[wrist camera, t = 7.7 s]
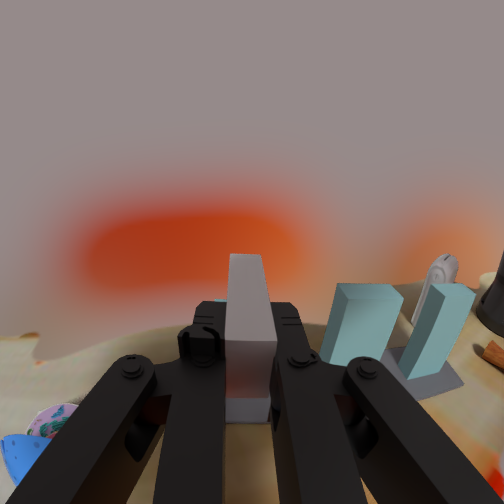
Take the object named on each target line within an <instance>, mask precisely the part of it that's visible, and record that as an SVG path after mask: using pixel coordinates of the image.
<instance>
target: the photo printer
mask: <svg viewBox="0 0 504 504" xmlns="http://www.w3.org/2000/svg"><path fill="white" fill-rule="evenodd" d="M457 271H458V261H457V259H456V258H455V257H454V256H451V255H450V254H443V255H441V256H439V257H438V258H437V259H436V260H435V261H434V262H433V263H432V265H431V266H430V268H429V270H428V273H427V276H426V279H425V282H424V285H423V289H422V292H421V295H420V297H419V300H418V303H417V306H416V308H415V311H414V314H413V316H412V319H411V323H412V325H413V326H414V327H415V325H416V323H417V320H418V318H419V315H420V313H421V310H422V307H423V305H424V302H425V299H426V296H427V293H428V290H429V288H430V284H452V283H454V280H455V277H456V274H457Z"/></svg>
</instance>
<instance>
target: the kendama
mask: <svg viewBox="0 0 504 504" xmlns="http://www.w3.org/2000/svg"><path fill="white" fill-rule="evenodd" d="M482 358H483V359H485V360H487V361H489V362H491V363H493V364H494V365H496V366H498V367H500V368H502V369H504V350H503V349H502V348H501V347H499V346H498V345H497V344H496V343H495V342H494V341H493V340H492V341H491V342H490V343H489V344H488V346H487V347H486V349H485V351H484V353H483V356H482Z"/></svg>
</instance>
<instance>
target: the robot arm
mask: <svg viewBox="0 0 504 504" xmlns="http://www.w3.org/2000/svg"><path fill="white" fill-rule="evenodd" d="M229 265H230V266H229V279H228V292H227V302H216V301H203V302H201V303H200V304H199V305H198V306H197V307H196V311H195V315H194V320H193V324H192V325H191V326H187V327H186V328H184V329H183V330H181V331H180V333H179V334H178V336H177V338H178V345H179V353H180V358H179V359H177V360H175V361H173V362H169V363H164V364H156V365H153V363H152V362H151V361H150V359H148V358H146V357H144V356H142V355H136V354H133V355H126V356H124V357H121V358H119V359H118V360H117V361H115V362H114V363H113V364H112V366H111V367H110V368H109V369H108V370H107V372H106V373H105V374H104V375H103V376H102V378H101V379H100V380H99V381H98V382H97V384H96V385H95V386H94V387H93V388H92V390H91V391H90V392H89V393H88V395H87V396H86V397H85V398H84V399H83V401H82V402H81V403H80V404H79V406H78V407H77V408H76V409H75V411H74V412H73V413H72V414H71V416H70V417H69V418H68V419H67V421H66V422H65V423H64V424H63V426H62V427H61V428H60V430H59V431H58V432H57V433H56V435H55V436H54V437H53V439H52V440H51V441H50V443H49V444H48V445H47V446H46V448H45V449H44V450H43V452H42V453H41V454H40V456H39V457H38V458H37V460H36V461H35V462H34V464H33V465H32V467H31V468H30V469H29V471H28V472H27V473H26V475H25V476H24V478H23V479H22V480H21V482H20V483H19V485H18V486H17V487H16V489H15V490H14V492H13V493H12V495H11V496H10V497H9V499H8V500H7V502H6V503H5V504H126V502H127V500H128V498H129V496H130V495H131V493H132V491H133V489H134V487H135V485H136V483H137V481H138V479H139V478H140V476H141V474H142V472H143V470H144V468H145V466H146V464H147V462H148V460H149V458H150V457H151V455H152V453H153V451H154V449H155V447H156V445H157V443H158V441H159V439H160V437H161V436H162V434H163V432H164V430H165V432H164V437H163V443H162V448H161V454H160V460H159V466H158V472H157V478H156V484H155V491H154V498H153V504H225V425H226V398H268V397H269V391H270V398H271V403H270V408H269V414H268V419H267V422H271V430H272V439H273V448H274V457H275V466H276V475H277V483H278V492H279V501H280V504H368V502H367V499H366V495H365V492H364V488H363V485H362V482H361V478H362V480H363V482H364V483H365V485H366V486H367V488H368V489H369V491H370V492H371V494H372V495H373V497H374V499H375V500H376V502H377V503H378V504H504V502H503V501H502V499H501V498H500V497H499V496H498V494H497V493H496V492H495V491H494V490H493V488H492V487H491V486H490V485H489V484H488V482H487V481H486V480H485V479H484V478H483V476H482V475H481V474H480V473H479V472H478V470H477V469H476V468H475V467H474V466H473V465H472V463H471V462H470V461H469V460H468V459H467V458H466V456H465V455H464V454H463V453H462V452H461V451H460V449H459V448H458V447H457V446H456V445H455V444H454V443H453V441H452V440H451V439H450V438H449V437H448V436H447V435H446V433H445V432H444V431H443V430H442V429H441V428H440V427H439V425H438V424H437V423H436V422H435V421H434V420H433V419H432V418H431V416H430V415H429V414H428V413H427V412H426V411H425V410H424V409H423V408H422V406H421V405H420V404H419V403H418V402H417V401H416V400H415V399H414V398H413V396H412V395H411V394H410V393H409V392H408V391H407V390H406V389H405V388H404V387H403V385H402V384H401V383H400V382H399V381H398V380H397V379H396V378H395V377H394V376H393V375H392V373H391V372H390V371H389V370H388V369H387V368H386V367H385V366H384V365H383V364H382V363H381V362H379V361H378V360H376V359H374V358H371V357H366V356H361V357H356V358H354V359H352V360H350V362H349V363H348V365H347V366H341V365H335V364H330V363H326V362H324V361H322V360H321V358H320V356H319V355H318V353H316V352H315V351H313V350H312V349H310V346H309V343H308V340H307V337H306V334H305V331H304V328H303V325H302V322H301V319H300V316H299V313H298V310H297V309H296V308H295V307H294V306H293V305H292V304H291V303H290V302H270V300H269V295H268V290H267V285H266V279H265V274H264V270H263V264H262V259H261V255H252V254H230V264H229ZM476 313H477V315H478V317H479V319H480V320H481V321H482V322H483V323H484V324H485V325H486V326H487V327H488V328H489V329H490V330H492V331H493V332H495V333H496V334H498V335H500V336H502V337H504V252H503V255H502V259H501V262H500V265H499V268H498V271H497V274H496V277H495V280H494V281H493V283H492V284H491V286H490V287H489V288H488V290H487V291H486V292H485V294H484V295H483V296H482V298H481V299H480V301H479V304H478V306H477V308H476ZM360 477H361V478H360Z"/></svg>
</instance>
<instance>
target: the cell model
mask: <svg viewBox="0 0 504 504" xmlns="http://www.w3.org/2000/svg"><path fill="white" fill-rule="evenodd" d="M78 406H79V405H76V404H70V403H61V404H56V405H53V406H51V407H48V408H46V409H44V410H42V411H41V410H39V411H38V414H37V416H36V417H35V418H34V419H33V420H32V422H31V423H30V424H29V426H28V428H27V429H26V431H25V434H24V435H22V434H15V435H8V436H5V437H4V438H3V439H4V441H3V440H0V449H1V453H2V457H3V460H4V463H5V466H6V469H7V471H8V473H9V475H10V477H11V479H12V481H13V483H14V484H15V486H16V487H17V486H18V485H19V483H20V482H21V480H22V479H23V478H24V476H25V475H26V473H27V472H28V471H29V469H30V468H31V467H32V465H33V464H34V462H35V461H36V460H37V458H38V457H39V456H40V454H41V453H42V452H43V450H44V449H45V448H46V446H47V445H48V444H49V443H50V441H51V440H52V439H53V437H54V436H55V435H56V433H57V432H58V431H59V430H60V428H61V427H62V426H63V424H64V423H65V422H66V421H67V419H68V418H69V417H70V416H71V414H72V413H73V412H74V411H75V409H76V408H77V407H78Z"/></svg>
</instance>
